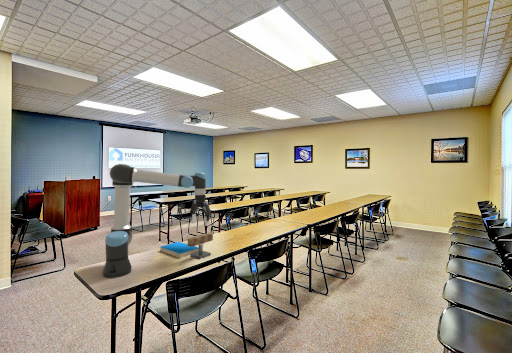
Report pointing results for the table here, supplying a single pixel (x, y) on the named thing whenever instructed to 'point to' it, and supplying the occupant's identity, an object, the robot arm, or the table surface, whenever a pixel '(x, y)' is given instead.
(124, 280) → the table surface
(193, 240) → the walnut beam
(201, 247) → the grey post on base
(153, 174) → the robot arm
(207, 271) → the table surface
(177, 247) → the book
